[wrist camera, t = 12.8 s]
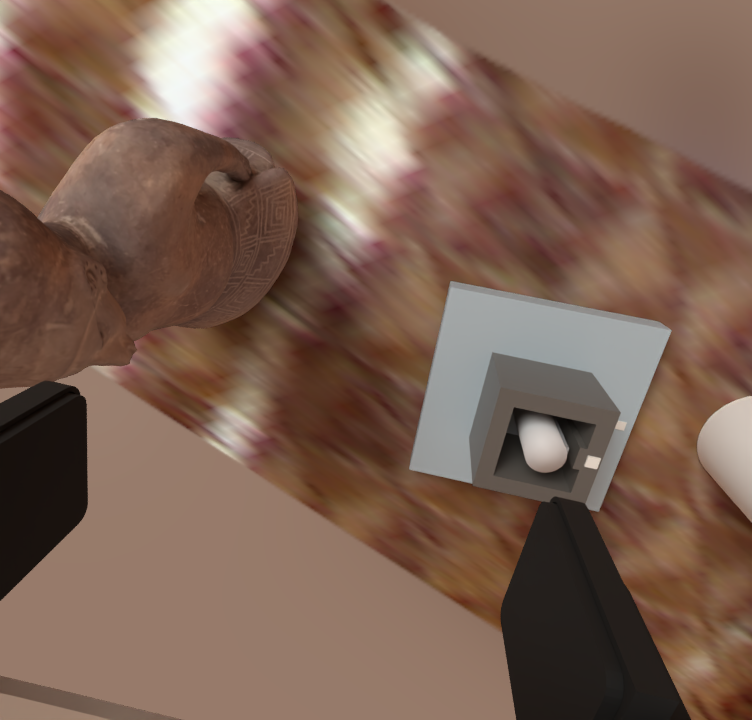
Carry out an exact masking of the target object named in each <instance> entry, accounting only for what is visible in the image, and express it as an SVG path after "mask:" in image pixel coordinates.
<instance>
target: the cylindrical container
mask: <svg viewBox="0 0 752 720" xmlns="http://www.w3.org/2000/svg"><path fill="white" fill-rule="evenodd" d="M697 453H698V457H699V460H700V462H701V464H702V466H703V467H704V469H705V470H706V471H707V472H708V473H709V474H710V475H711V477H712V478H713V479H714V480H715V481H716V482H717V484H718V485H719V486H720V487H721V488H722V489H723V490H724V492H725V493H726V494H727V495H728V496H729V497H730V498H731V500H732V501H733V502H734V503H735V504H736V505H737V506H738V508H739V509H740V510H741V511H742V512H743V513H744V514H745V516H746V517H747V518H748V519H749V520H750V521H751V522H752V396H748V397H745V398H741V399H738V400H735V401H733V402H731V403H729V404H727V405H725V406H723V407H722V408H720V409H719V410H718V411H716V412H715V413H714V414H713V415H712V416H711V417H710V418H709V419H708V420H707V422H706V423H705V425H704V426H703V427H702V430H701V432H700V434H699V437H698V442H697Z"/></svg>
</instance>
